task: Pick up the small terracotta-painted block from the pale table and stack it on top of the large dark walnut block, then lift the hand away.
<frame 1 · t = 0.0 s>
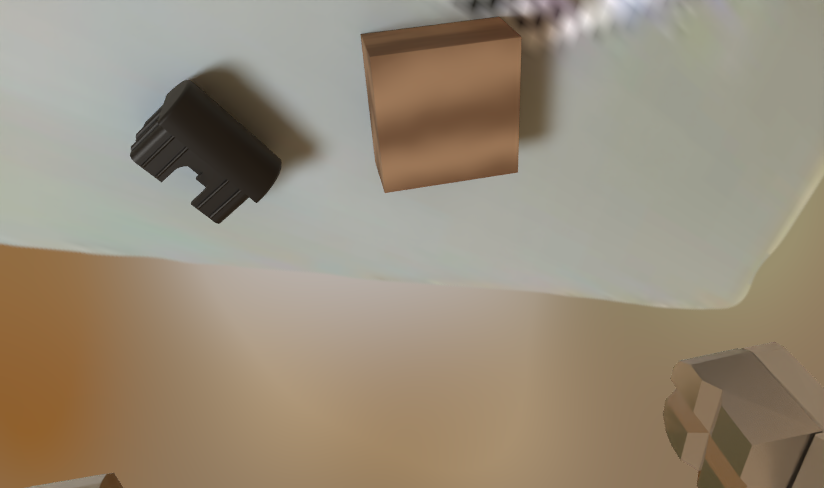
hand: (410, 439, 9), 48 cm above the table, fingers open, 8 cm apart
end cap: (211, 133, 56), on the table
walnut block: (434, 92, 58), on the table
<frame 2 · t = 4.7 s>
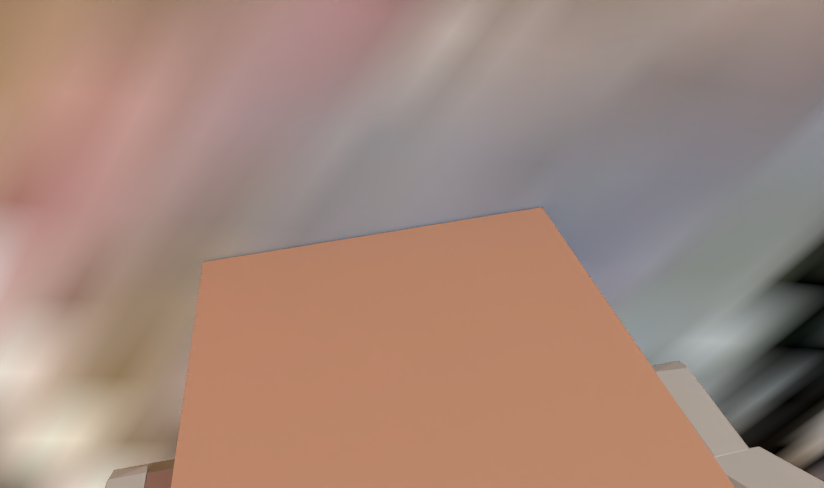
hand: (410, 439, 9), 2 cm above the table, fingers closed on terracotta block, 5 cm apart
terracotta block: (392, 356, 11), on the table, touching gripper
when the fingers open (9 cm above the table, at t = 11.5 s): terracotta block drops 1 cm, resting on walnut block.
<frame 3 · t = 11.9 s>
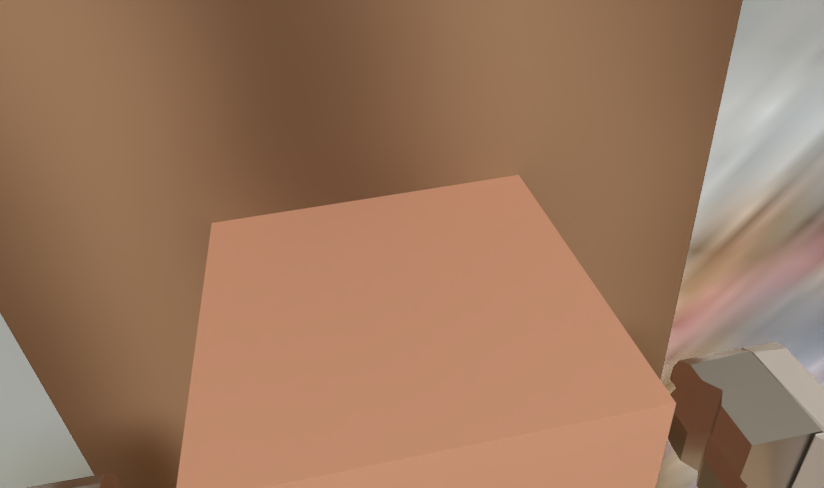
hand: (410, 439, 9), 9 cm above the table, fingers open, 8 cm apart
walnut block: (346, 165, 17), on the table
terracotta block: (384, 315, 12), point 6 cm above the table, touching walnut block
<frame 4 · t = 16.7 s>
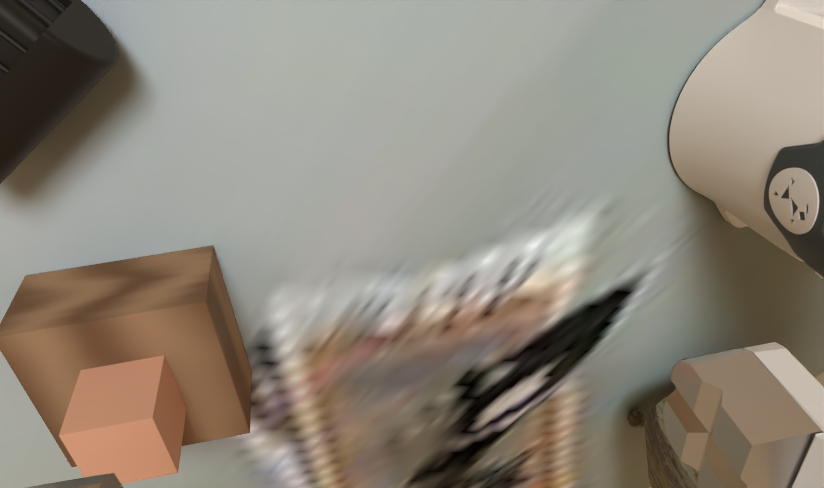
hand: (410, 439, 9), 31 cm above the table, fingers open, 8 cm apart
end cap: (15, 50, 34), on the table
tabletop clock: (683, 373, 60), on the table
walnut block: (148, 327, 46), on the table
terracotta block: (135, 390, 41), point 6 cm above the table, touching walnut block
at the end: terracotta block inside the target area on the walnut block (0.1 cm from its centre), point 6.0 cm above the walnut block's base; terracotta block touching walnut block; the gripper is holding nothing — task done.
